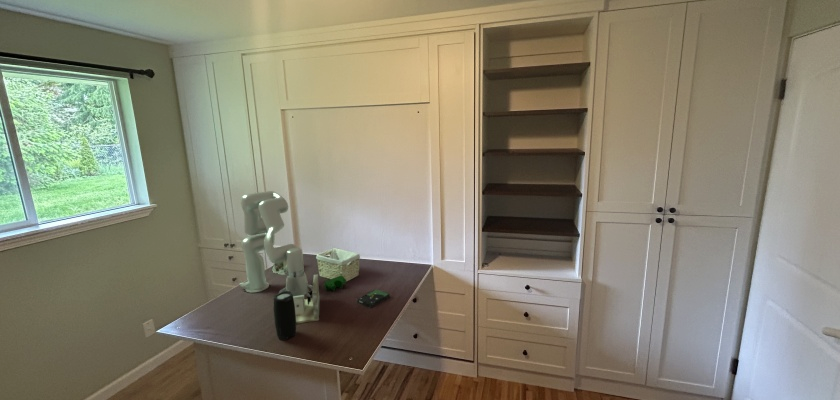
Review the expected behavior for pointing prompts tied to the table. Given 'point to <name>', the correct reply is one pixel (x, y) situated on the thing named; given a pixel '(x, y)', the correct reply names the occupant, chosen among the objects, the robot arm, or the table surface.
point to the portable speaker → (284, 315)
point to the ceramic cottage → (280, 268)
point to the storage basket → (338, 264)
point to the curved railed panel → (311, 305)
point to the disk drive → (373, 298)
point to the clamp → (334, 283)
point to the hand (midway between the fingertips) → (298, 304)
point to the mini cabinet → (299, 304)
